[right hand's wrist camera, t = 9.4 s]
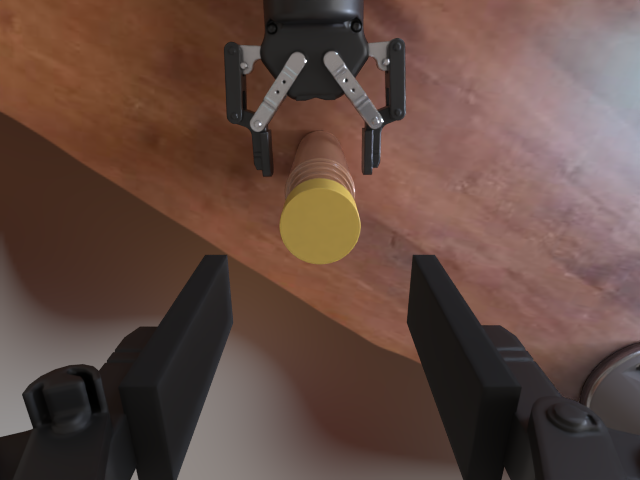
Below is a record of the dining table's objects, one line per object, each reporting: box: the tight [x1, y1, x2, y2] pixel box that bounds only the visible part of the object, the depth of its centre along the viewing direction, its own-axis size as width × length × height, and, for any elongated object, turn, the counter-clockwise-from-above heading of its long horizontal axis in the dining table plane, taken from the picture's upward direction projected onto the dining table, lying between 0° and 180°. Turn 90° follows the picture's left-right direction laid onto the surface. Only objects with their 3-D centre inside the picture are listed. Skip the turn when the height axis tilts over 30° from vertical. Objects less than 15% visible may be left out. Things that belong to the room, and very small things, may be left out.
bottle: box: [285, 131, 355, 200], centre depth 31 cm, size 5×5×22 cm
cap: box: [280, 178, 360, 264], centre depth 22 cm, size 4×4×2 cm
